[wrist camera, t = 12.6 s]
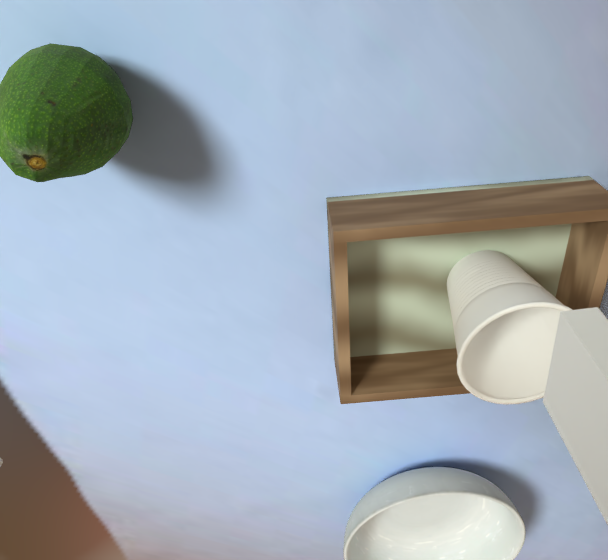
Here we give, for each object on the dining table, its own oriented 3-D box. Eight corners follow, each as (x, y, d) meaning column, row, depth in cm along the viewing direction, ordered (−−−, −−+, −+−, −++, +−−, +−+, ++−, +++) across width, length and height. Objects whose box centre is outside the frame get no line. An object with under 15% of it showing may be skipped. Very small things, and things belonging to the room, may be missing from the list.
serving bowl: (310, 477, 66) (314, 530, 60) (479, 418, 62) (500, 469, 56) (374, 561, 76) (382, 613, 71) (521, 516, 72) (543, 568, 66)
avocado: (34, 132, 42) (-41, 199, 32) (29, 22, 38) (-58, 58, 28) (141, 153, 43) (101, 223, 33) (148, 48, 39) (106, 92, 29)
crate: (326, 197, 46) (333, 231, 41) (588, 176, 46) (627, 207, 41) (334, 360, 56) (340, 404, 51) (550, 342, 56) (578, 384, 51)
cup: (466, 211, 46) (513, 283, 37) (557, 254, 49) (621, 332, 40) (404, 298, 51) (431, 382, 42) (490, 333, 54) (533, 419, 45)
